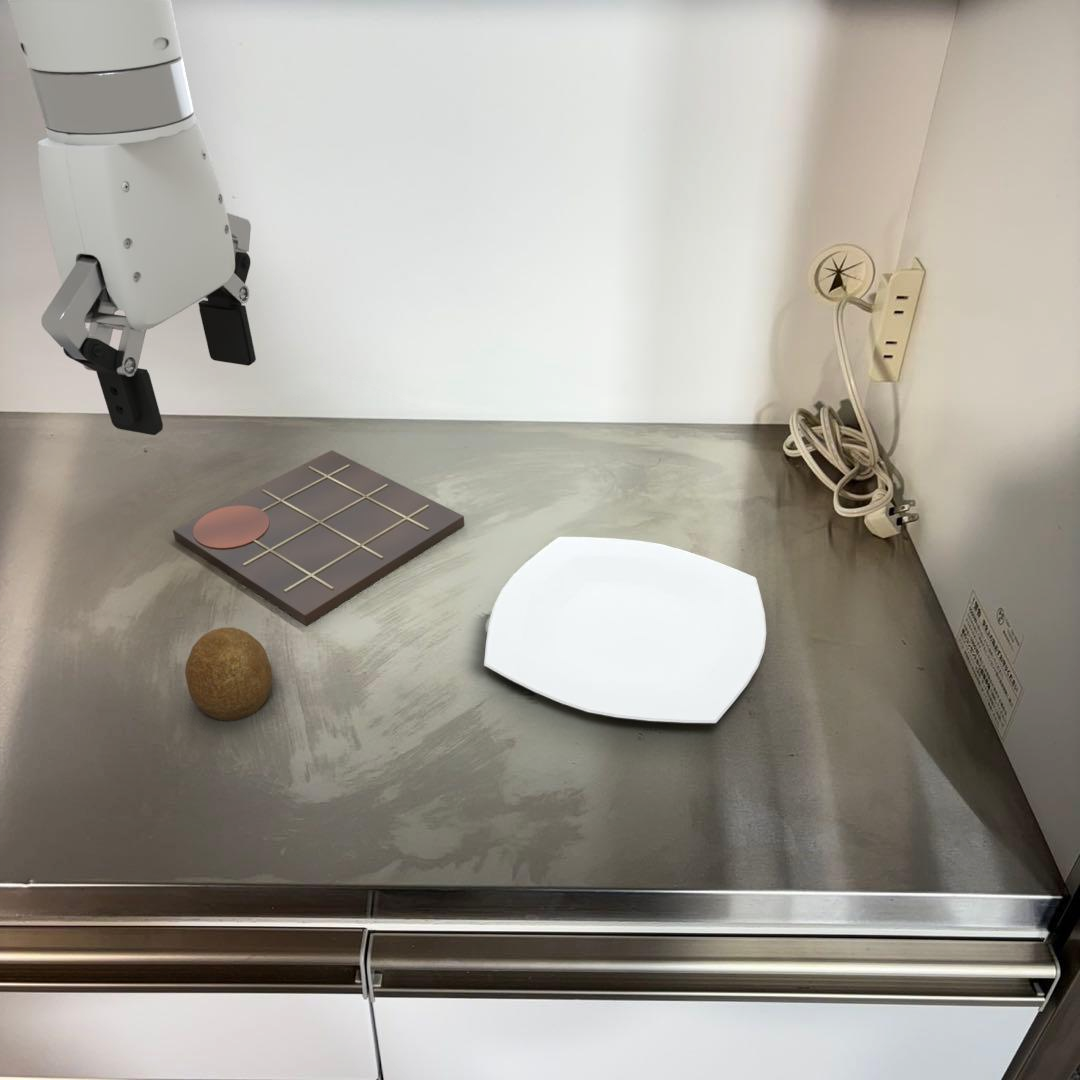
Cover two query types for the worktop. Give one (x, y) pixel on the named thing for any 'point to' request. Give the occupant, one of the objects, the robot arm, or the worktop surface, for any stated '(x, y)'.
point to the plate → (628, 630)
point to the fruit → (228, 674)
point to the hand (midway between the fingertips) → (189, 393)
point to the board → (318, 534)
